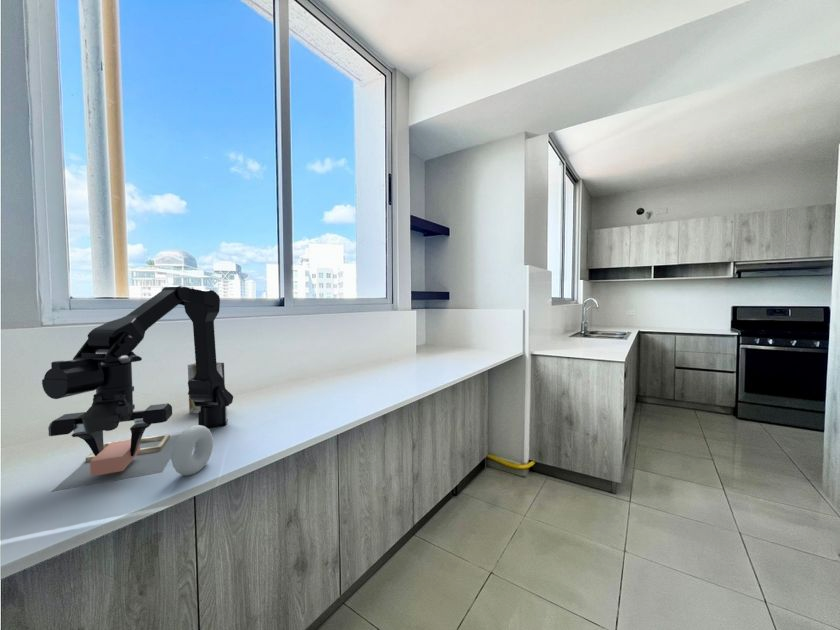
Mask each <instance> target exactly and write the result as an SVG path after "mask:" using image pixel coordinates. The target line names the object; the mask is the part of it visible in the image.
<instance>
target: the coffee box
mask: <svg viewBox="0 0 840 630" xmlns="http://www.w3.org/2000/svg"><path fill="white" fill-rule="evenodd" d="M216 364H217V371H218V372H219V374H220V375H221V376H222V378H223V379H224V384H225V382H226V381H225V363H224V362H218V361H216ZM195 374H196V362H195V363H190V364H187V379H188V380H187V382H188V381H189V380H192V379H193V378H194V376H195ZM225 385H226V384H225ZM188 405H189V407H188V411H189V412H188V413H190V414H198V413H199V411H200V408H201V406H197V407H196V406H195V405H194V402H193V400H192V399H191V397H190V395H188Z"/></svg>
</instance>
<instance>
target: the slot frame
mask: <svg viewBox="0 0 840 630" xmlns="http://www.w3.org/2000/svg"><path fill="white" fill-rule="evenodd" d="M170 436H171V434H170V433H168V434H160V435H154V436H146V437H142V438H141V440H140V443H144V442H151V441H158V440H162V441H161V442H160V443H159V445H158V446H154V447H147V448H141V449H140V452H139V453H138V454H143V453H150V452H156V451H161V450H162V448H163V447H164V446H165V444H166V443H167V441H168V440H169V439H170ZM124 440H125V439H123V440H122V441H124ZM129 440H131V438H129ZM117 441H118V440H115V441H114V442H117ZM111 442H112V441H110V442H109V441H108V442H103V444H104V448H106V447H107V446H108V445H109V444H110V443H111ZM94 457H95V455H94V453H93V451H91V453H89V454H88V455H87V456H86V457H85V462H90V461H91V460H92V459H93V458H94Z"/></svg>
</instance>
